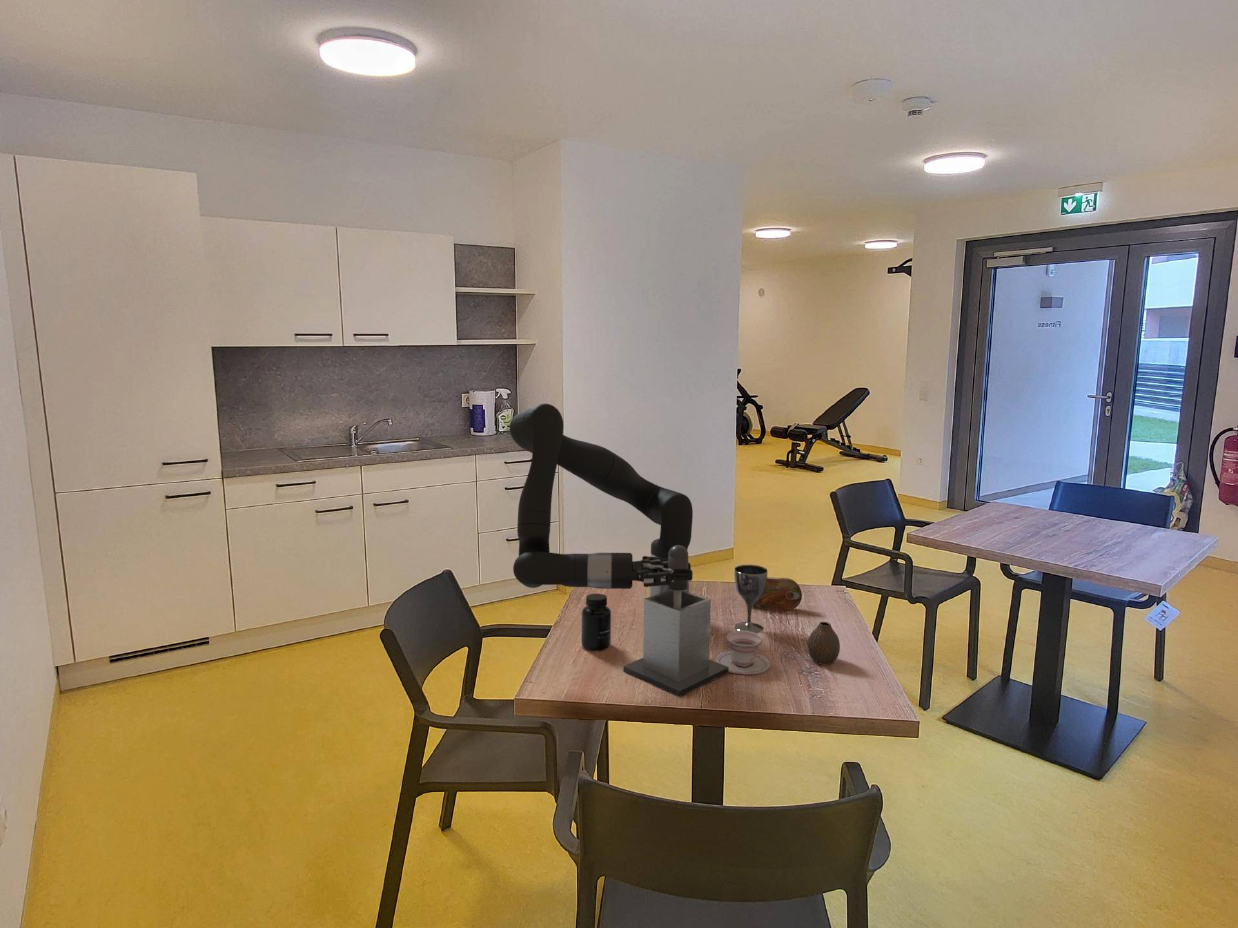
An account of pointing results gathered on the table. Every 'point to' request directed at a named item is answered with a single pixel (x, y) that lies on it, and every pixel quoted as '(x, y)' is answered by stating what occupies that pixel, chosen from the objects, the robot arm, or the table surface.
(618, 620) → the table surface
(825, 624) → the vase
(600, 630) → the supplement bottle
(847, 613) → the table surface
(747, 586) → the wine glass
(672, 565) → the screwdriver
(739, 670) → the teacup
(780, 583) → the tin
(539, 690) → the table surface
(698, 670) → the square planter box
